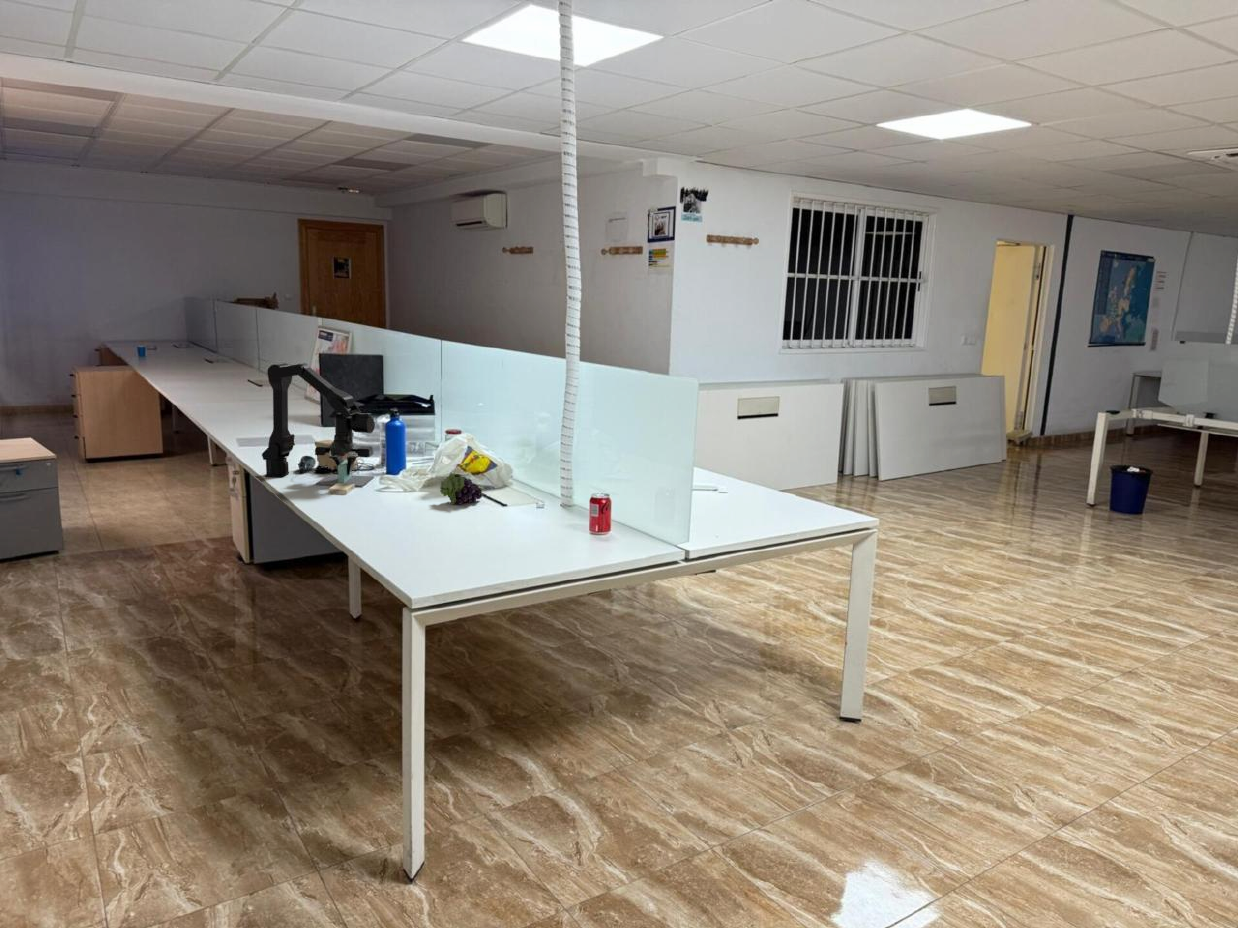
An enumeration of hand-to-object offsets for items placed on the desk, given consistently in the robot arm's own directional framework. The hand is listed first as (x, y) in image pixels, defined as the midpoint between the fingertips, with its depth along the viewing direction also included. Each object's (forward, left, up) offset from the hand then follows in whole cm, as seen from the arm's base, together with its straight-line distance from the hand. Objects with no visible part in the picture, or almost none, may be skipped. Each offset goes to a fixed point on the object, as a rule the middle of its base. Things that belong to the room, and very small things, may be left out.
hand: (345, 475), depth 304 cm
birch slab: (+3, -13, -3) cm, 14 cm away
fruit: (+45, -21, -3) cm, 50 cm away
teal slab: (0, 0, -2) cm, 2 cm away
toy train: (-9, +18, -3) cm, 20 cm away
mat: (0, 0, -2) cm, 2 cm away
